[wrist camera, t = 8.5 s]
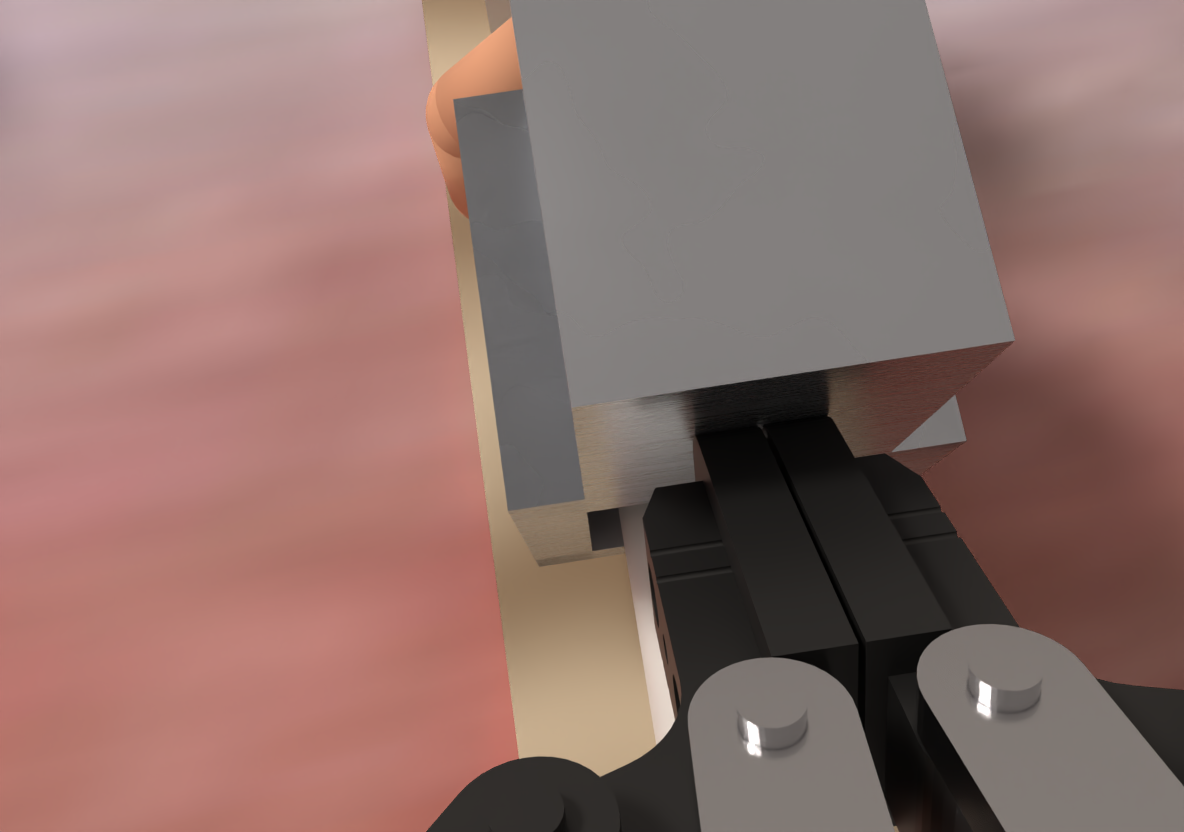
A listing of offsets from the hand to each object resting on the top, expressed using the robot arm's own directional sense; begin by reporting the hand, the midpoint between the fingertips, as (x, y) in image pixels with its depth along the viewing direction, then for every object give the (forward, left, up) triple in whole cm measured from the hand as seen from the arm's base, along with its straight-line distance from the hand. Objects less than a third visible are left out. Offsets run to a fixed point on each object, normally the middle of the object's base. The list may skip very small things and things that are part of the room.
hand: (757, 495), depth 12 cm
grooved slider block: (+3, +2, -8) cm, 9 cm away
